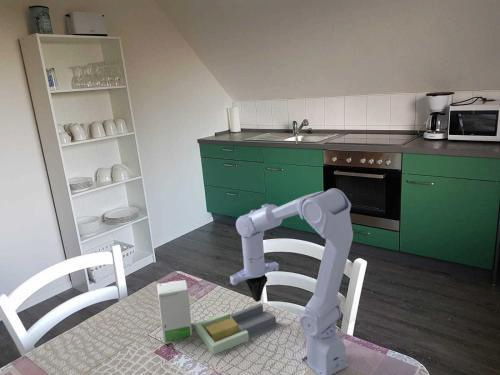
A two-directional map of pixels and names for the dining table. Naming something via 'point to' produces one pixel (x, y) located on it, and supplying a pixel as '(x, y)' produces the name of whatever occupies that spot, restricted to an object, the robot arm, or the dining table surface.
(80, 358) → the dining table surface
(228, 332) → the chip
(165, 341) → the skincare box
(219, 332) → the chip
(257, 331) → the green and grey tray
